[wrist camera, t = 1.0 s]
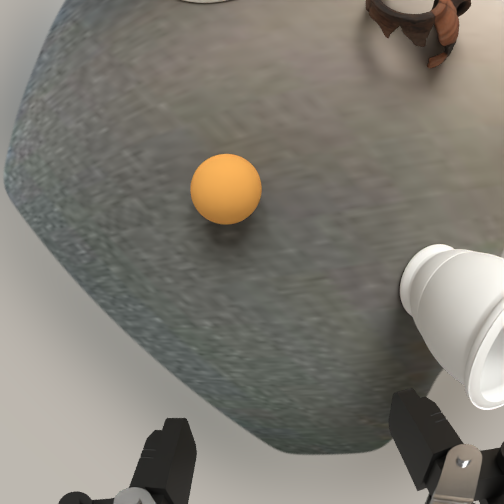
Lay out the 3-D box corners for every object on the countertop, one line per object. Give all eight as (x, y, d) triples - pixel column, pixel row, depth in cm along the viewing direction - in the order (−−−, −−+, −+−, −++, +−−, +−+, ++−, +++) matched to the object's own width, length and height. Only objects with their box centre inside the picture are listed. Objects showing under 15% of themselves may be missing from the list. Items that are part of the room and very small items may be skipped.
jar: (372, 313, 30) (442, 408, 16) (414, 217, 28) (522, 260, 13) (444, 335, 31) (517, 412, 17) (482, 253, 29) (578, 301, 14)
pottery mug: (415, 90, 25) (411, 44, 18) (356, 34, 28) (336, -13, 20) (488, 41, 20) (497, -6, 13) (428, -9, 23) (421, -57, 15)
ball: (188, 168, 27) (173, 167, 22) (249, 147, 26) (248, 141, 21) (209, 227, 28) (198, 240, 23) (269, 207, 28) (272, 216, 22)
